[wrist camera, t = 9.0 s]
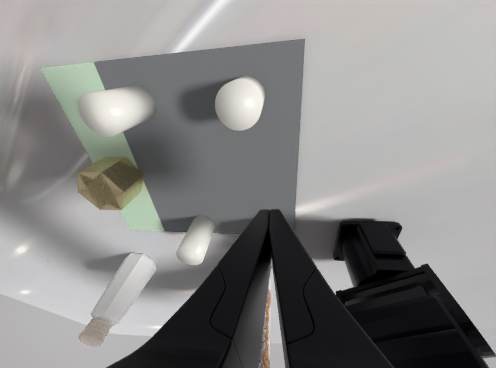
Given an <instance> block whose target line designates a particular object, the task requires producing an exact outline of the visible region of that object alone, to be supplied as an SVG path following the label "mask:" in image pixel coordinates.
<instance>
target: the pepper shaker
mask: <svg viewBox="0 0 496 368" xmlns="http://www.w3.org/2000/svg"><path fill="white" fill-rule="evenodd" d="M156 270H157V267H156V265H155V262H154V260H152V259H151V258H149V257H147V256H146V255H144V254H139V253H130V254H129V255H128V256H127V257H126V258H125V259H124V261H123V262H122V264H121V265H120V267H119V269H118V270H117V272H116V273H115V275H114V277H113V278H112V280H111V282H110V283H109V285H108V286H107V288H106V290H105V291H104V293H103V294H102V296H101V298H100V299H99V301H98V302H97V304H96V306H95V307H94V309H93V311H92V313H91V316H92V317H93V319H91V322H90V323H89V324H88V325H87V326H86V328H85V330H84V331H83V332H82V333H81V334H80V335H79V340H80V341H81V342H83V343H84V344H87V345H90V346H100V345H101V344H102V343H103V341H104V338H105V336H106V335H107V334H108V332H109V329H110V328H111V327H112V326H113V325H115V324H117V323H119V322H120V320H121V319H122V318H123V316H124V315H125V313H126V312H127V311H128V309H129V308H130V306H131V305H132V304H133V302H134V301H135V299H136V298H137V297H138V295H139V294H140V292H141V291H142V290H143V288H144V287H145V285H146V284H147V282H148V281H149V280H150V278H151V277H152V275H153V274H154V273H155V271H156Z"/></svg>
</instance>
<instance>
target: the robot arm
mask: <svg viewBox="0 0 496 368" xmlns="http://www.w3.org/2000/svg"><path fill="white" fill-rule="evenodd" d="M401 230H402V226H401V225H400V224H399V223H385V222H342V223H340V225H339V230H338V234H337V239H336V243H335V248H334V252H333V258H334V260H337V261H345V264H346V267H347V269H348V272H349V275H350V278H351V281H352V284H353V288H349V289H346V290H343V291H341V290H339V291H336V295H335V294H334V292H333V291H332V289H331V288H330V286H329V285H328V283H327V282H326V281H325V279H324V278H323V276H322V274H321V273H320V271H319V270H318V269H317V267H316V265H315V264H314V262H313V260H312V259H311V257H310V256H309V254H308V253H307V251H306V249H305V248H304V246H303V245H302V243H301V242H300V240H299V238H298V237H297V235H296V234H295V232H294V231H293V229H292V228H291V226H290V224H289V223H288V221H287V220H286V218H285V217H284V215H283V213H282V212H281V210H280V209H271V210H269V209H261V210H260V211H259V212H258V213H257V214H256V216H255V217H254V218H253V220H252V221H251V222H250V223H249V225H248V226H247V227H246V229H245V230H244V231H243V232H242V234H241V235H240V236H239V238H238V239H237V240H236V242H235V243H234V244H233V245H232V247H231V248H230V249H229V251H228V252H227V253H226V254H225V256H224V257H223V258H222V260H221V261H220V262H219V263H218V266H216V267H215V268H214V270H213V271H212V272H211V274H210V275H209V276H208V277H207V279H206V280H205V281H204V282H203V283H202V285H201V286H200V287H199V288H198V289H197V290H196V291H195V292H194V294H193V295H192V296H191V297H190V298H189V299H188V300H187V301H186V302H185V303H184V304H183V305H182V306H181V307H180V309H179V310H178V311H177V312H176V313H175V314H174V315H173V316H172V317H171V318H170V319H169V320H168V321H167V322H166V323H165V324H164V325H163V326H162V327H161V329H160V330H159V331H158V332H157V333H156V334H155V335H154V336H153V337H152V338H151V339H149V340H148V341H147V342H146V343H145V344H144V345H142V346H141V347H140V348H139V349H137V350H136V351H134V352H133V353H131V354H130V355H128V356H126V357H125V358H123V359H121V360H119V361H117V362H115V363H114V364H112V365H110V366H108V367H107V368H258V367H259V359H260V351H261V343H262V335H263V327H264V319H265V310H266V302H267V294H268V286H269V278H270V270H271V259H272V267H273V275H274V282H275V290H276V298H277V306H278V313H279V321H280V329H281V337H282V344H283V352H284V360H285V367H286V368H489V367H488V365H487V364H486V362H485V361H484V359H483V358H488V357H496V355H495V353H494V352H493V350H492V349H491V347H490V346H489V345H488V343H487V342H486V341H485V339H484V338H483V336H482V335H481V334H480V332H479V331H478V330H477V328H476V327H475V326H474V324H473V323H472V322H471V320H470V319H469V317H468V316H467V315H466V313H465V312H464V311H463V309H462V308H461V307H460V306H459V304H458V303H457V302H456V300H455V299H454V298H453V296H452V295H451V294H450V292H449V291H448V290H447V289H446V287H445V286H444V285H443V283H442V282H441V281H440V279H439V278H438V277H437V276H436V274H435V273H434V272H433V270H432V269H431V268H430V266H429V265H428V264H424V265H421V267H418V268H414V266H413V265H412V263H411V262H410V260H409V259H408V257H407V256H406V252H405V250H404V249H403V247H402V246H401V244H400V243H399V242H398V240H397V239H398V236H399V234H400V232H401Z"/></svg>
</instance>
